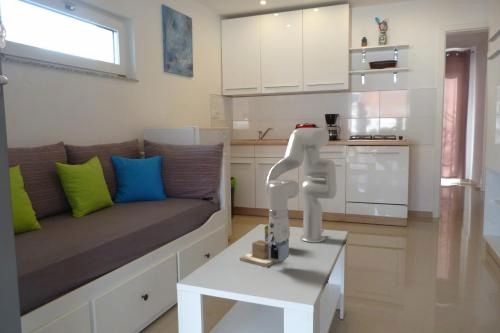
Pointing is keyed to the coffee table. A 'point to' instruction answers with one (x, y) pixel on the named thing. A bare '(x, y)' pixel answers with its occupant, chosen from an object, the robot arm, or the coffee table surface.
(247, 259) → the tan square board
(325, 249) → the coffee table surface
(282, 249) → the slate cube
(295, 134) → the robot arm
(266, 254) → the walnut cube
